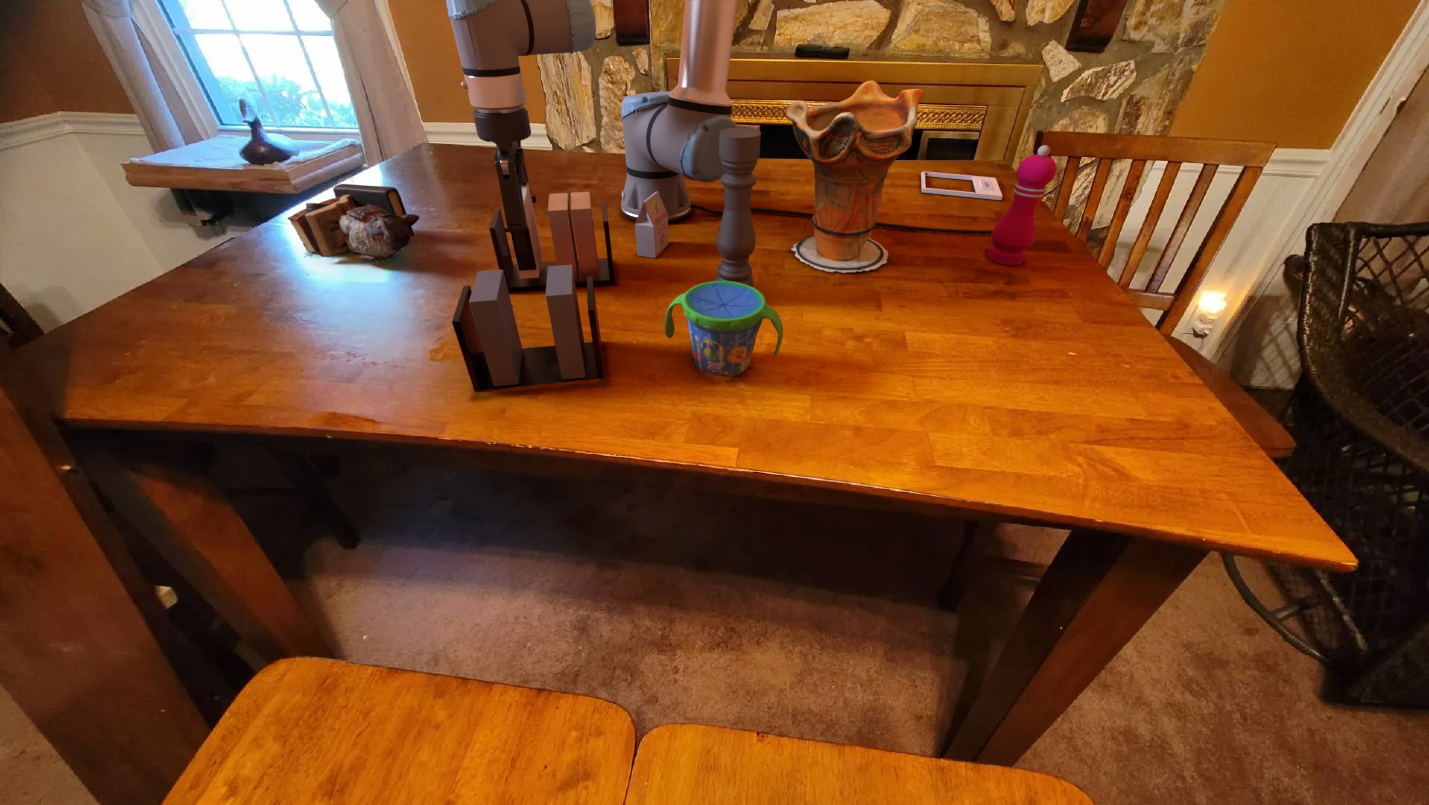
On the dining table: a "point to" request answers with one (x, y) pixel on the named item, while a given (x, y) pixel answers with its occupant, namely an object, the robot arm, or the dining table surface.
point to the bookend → (356, 223)
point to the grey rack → (524, 350)
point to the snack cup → (723, 324)
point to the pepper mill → (1022, 209)
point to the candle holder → (737, 203)
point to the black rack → (561, 244)
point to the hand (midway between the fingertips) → (529, 255)
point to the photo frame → (982, 185)
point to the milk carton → (652, 227)
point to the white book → (533, 233)
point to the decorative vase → (851, 171)
